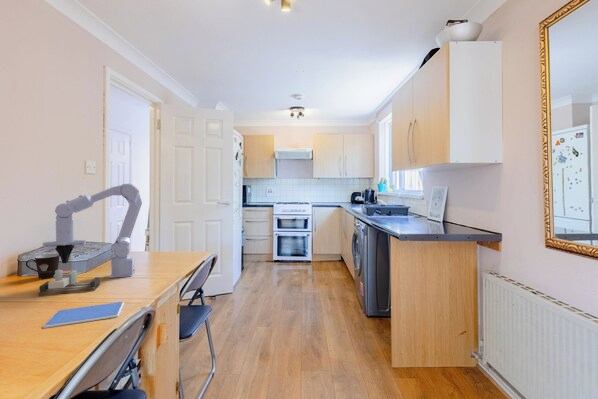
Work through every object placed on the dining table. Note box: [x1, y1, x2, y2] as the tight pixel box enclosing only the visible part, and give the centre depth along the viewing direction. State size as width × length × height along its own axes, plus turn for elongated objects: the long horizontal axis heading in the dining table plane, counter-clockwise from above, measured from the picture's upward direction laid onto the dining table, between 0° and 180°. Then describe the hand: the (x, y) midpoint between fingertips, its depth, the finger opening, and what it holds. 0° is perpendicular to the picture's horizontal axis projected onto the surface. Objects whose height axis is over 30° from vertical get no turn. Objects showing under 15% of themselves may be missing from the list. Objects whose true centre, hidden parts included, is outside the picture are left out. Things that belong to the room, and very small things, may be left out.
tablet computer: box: [42, 301, 125, 329], centre depth 93 cm, size 19×13×1 cm, turn 114°
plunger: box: [62, 270, 73, 274], centre depth 121 cm, size 3×3×4 cm
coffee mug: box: [25, 253, 61, 280], centre depth 131 cm, size 12×9×10 cm
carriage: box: [48, 269, 69, 289], centre depth 113 cm, size 5×5×6 cm
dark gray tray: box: [37, 276, 101, 297], centre depth 115 cm, size 18×8×4 cm, turn 111°
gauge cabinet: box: [53, 270, 78, 285], centre depth 121 cm, size 6×6×5 cm
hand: (65, 262), depth 121 cm, fingers closed
